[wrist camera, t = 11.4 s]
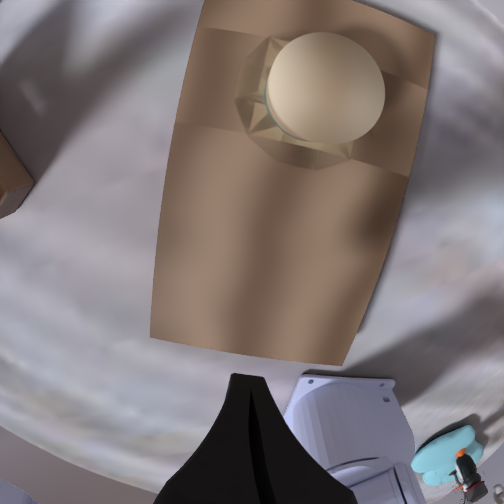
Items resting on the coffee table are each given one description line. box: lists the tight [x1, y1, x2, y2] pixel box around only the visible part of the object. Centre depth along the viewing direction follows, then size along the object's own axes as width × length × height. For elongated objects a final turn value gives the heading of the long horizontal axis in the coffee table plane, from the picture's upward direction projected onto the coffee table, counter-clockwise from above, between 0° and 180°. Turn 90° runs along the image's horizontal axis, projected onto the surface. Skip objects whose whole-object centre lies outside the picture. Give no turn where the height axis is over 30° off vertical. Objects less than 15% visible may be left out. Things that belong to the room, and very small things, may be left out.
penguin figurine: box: [411, 425, 504, 504], centre depth 26 cm, size 20×11×15 cm, turn 38°
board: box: [150, 0, 435, 366], centre depth 19 cm, size 14×24×2 cm, turn 168°
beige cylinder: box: [264, 32, 385, 144], centre depth 15 cm, size 5×5×6 cm
